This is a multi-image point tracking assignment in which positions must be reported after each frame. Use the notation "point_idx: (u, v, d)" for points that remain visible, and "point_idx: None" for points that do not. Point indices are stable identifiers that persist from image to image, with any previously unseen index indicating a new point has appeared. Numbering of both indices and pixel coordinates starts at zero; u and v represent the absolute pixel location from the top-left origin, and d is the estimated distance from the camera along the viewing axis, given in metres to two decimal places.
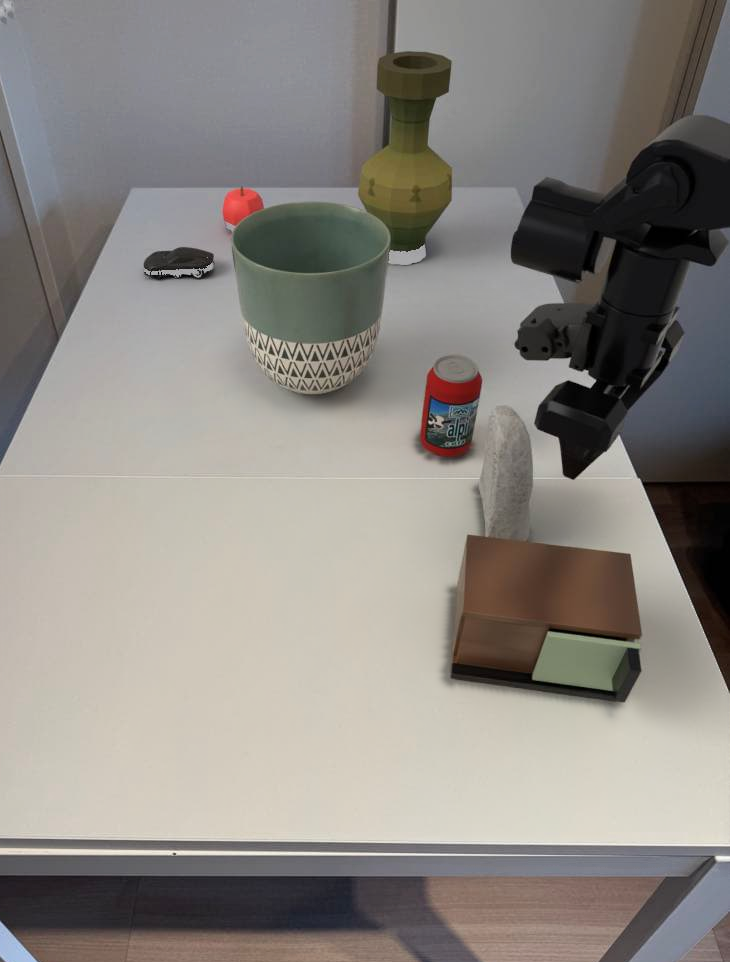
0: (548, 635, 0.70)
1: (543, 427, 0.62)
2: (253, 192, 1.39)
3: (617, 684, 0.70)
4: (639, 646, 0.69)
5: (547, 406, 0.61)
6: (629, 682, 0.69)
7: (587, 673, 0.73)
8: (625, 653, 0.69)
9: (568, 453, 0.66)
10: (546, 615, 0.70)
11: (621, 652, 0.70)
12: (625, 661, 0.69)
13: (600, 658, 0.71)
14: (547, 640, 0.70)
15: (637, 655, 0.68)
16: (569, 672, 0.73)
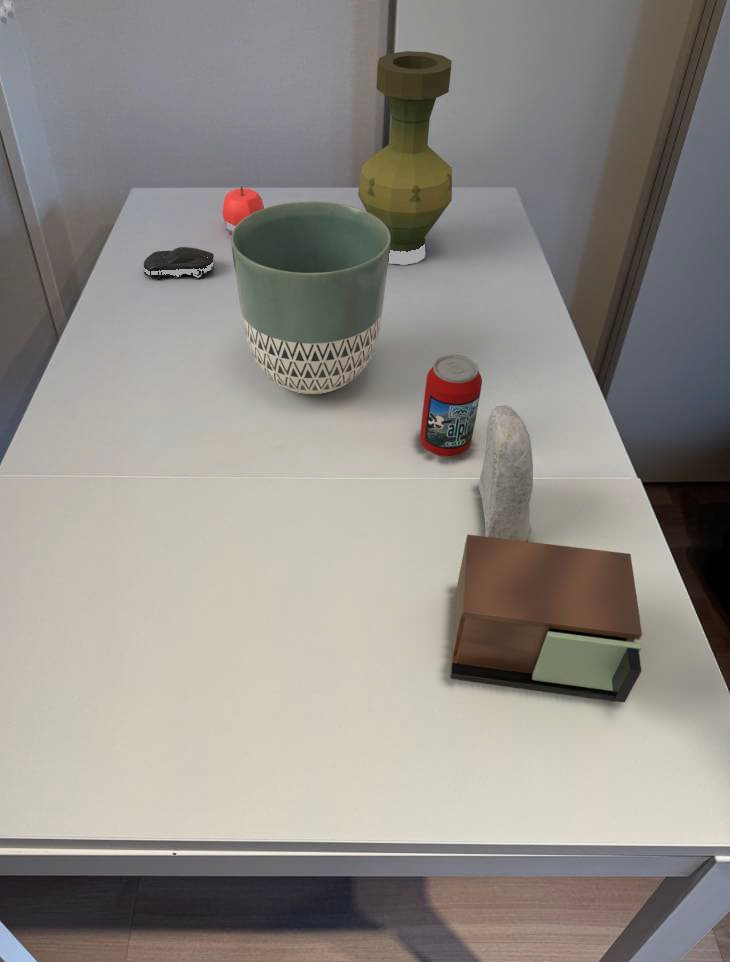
0: (548, 635, 0.70)
1: None
2: (253, 192, 1.39)
3: (617, 684, 0.70)
4: (639, 646, 0.69)
5: None
6: (629, 682, 0.69)
7: (587, 673, 0.73)
8: (625, 653, 0.69)
9: None
10: (546, 615, 0.70)
11: (621, 652, 0.70)
12: (625, 661, 0.69)
13: (600, 658, 0.71)
14: (547, 640, 0.70)
15: (637, 655, 0.68)
16: (569, 672, 0.73)
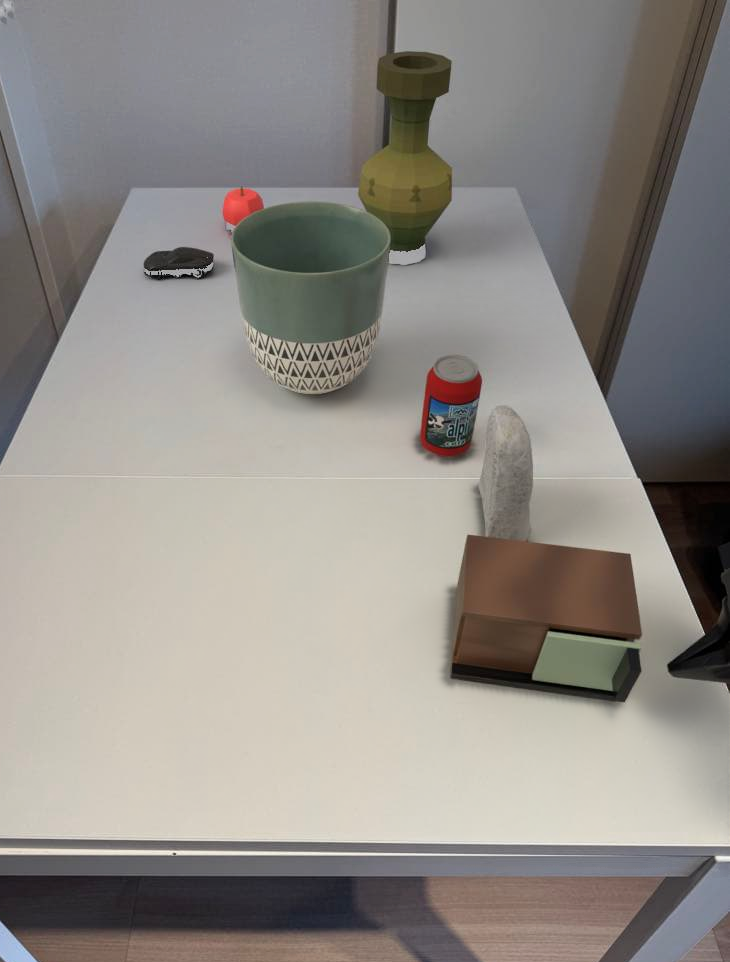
0: (548, 635, 0.70)
1: None
2: (253, 192, 1.39)
3: (617, 684, 0.70)
4: (639, 646, 0.69)
5: None
6: (629, 682, 0.69)
7: (587, 673, 0.73)
8: (625, 653, 0.69)
9: (708, 670, 0.65)
10: (546, 615, 0.70)
11: (621, 652, 0.70)
12: (625, 661, 0.69)
13: (600, 658, 0.71)
14: (547, 640, 0.70)
15: (637, 655, 0.68)
16: (569, 672, 0.73)
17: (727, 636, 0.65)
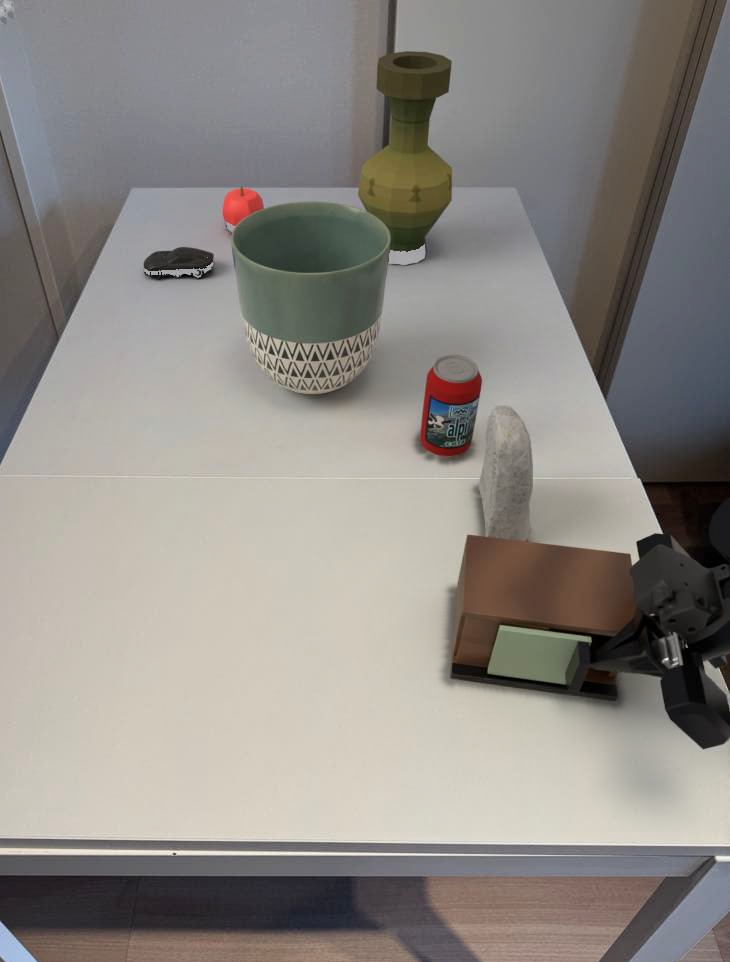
0: (500, 629, 0.70)
1: (677, 720, 0.57)
2: (253, 192, 1.39)
3: (569, 678, 0.71)
4: (590, 640, 0.69)
5: (699, 708, 0.56)
6: (580, 675, 0.69)
7: (540, 667, 0.73)
8: (576, 646, 0.70)
9: (624, 661, 0.66)
10: (546, 615, 0.70)
11: (572, 646, 0.70)
12: (576, 654, 0.69)
13: (552, 652, 0.71)
14: (499, 634, 0.71)
15: (587, 648, 0.69)
16: (523, 666, 0.73)
17: (642, 629, 0.65)
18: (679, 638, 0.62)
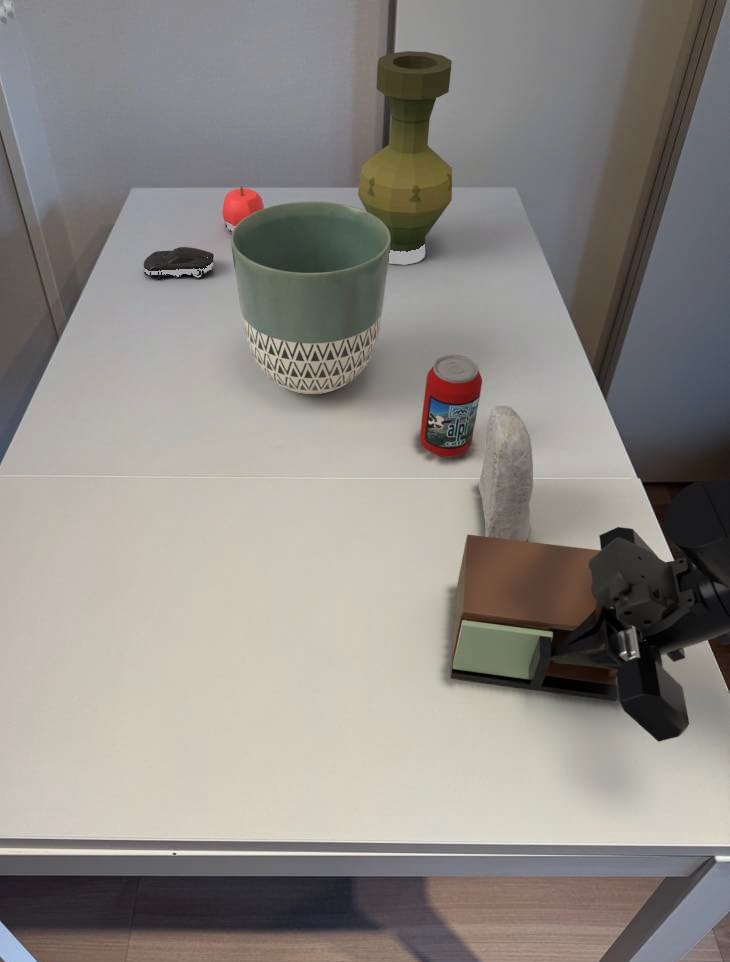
0: (462, 624, 0.71)
1: (632, 712, 0.58)
2: (253, 192, 1.39)
3: (531, 673, 0.71)
4: (551, 634, 0.70)
5: (653, 701, 0.57)
6: (541, 670, 0.69)
7: (504, 662, 0.73)
8: (538, 641, 0.70)
9: (584, 654, 0.66)
10: (546, 615, 0.70)
11: (534, 640, 0.70)
12: (537, 649, 0.70)
13: (515, 647, 0.72)
14: (462, 629, 0.71)
15: (548, 643, 0.69)
16: (487, 661, 0.74)
17: (602, 622, 0.66)
18: (637, 631, 0.62)
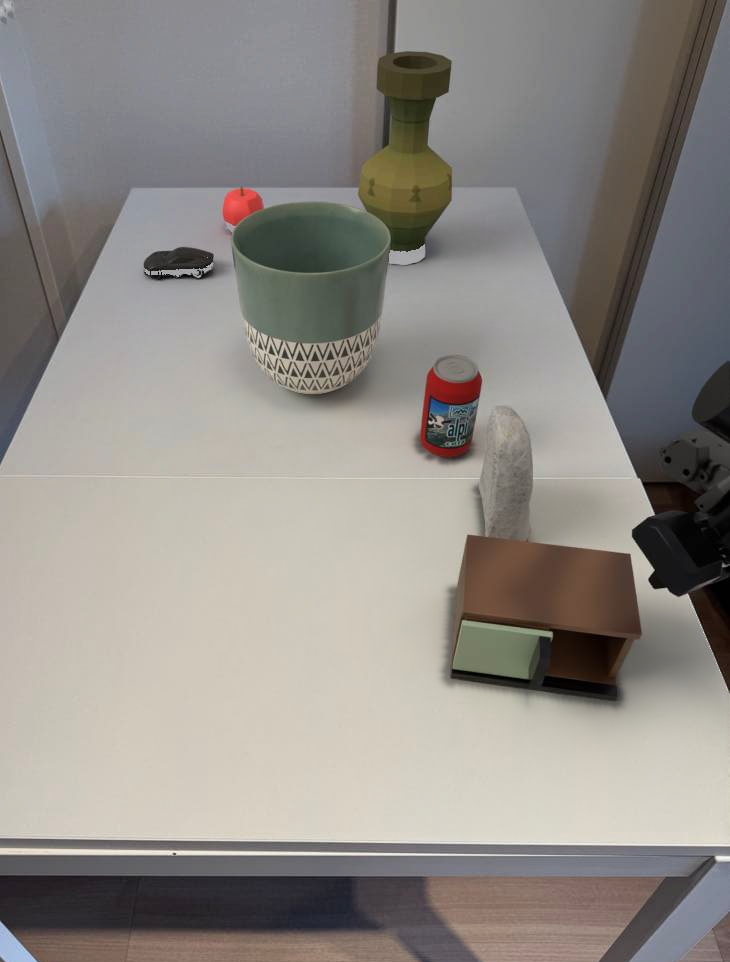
0: (462, 624, 0.71)
1: (638, 539, 0.59)
2: (253, 192, 1.39)
3: (531, 673, 0.71)
4: (551, 634, 0.70)
5: (656, 523, 0.58)
6: (541, 670, 0.69)
7: (504, 662, 0.73)
8: (538, 641, 0.70)
9: None
10: (546, 615, 0.70)
11: (534, 640, 0.70)
12: (537, 649, 0.70)
13: (515, 647, 0.72)
14: (462, 629, 0.71)
15: (548, 643, 0.69)
16: (487, 661, 0.74)
17: None
18: None
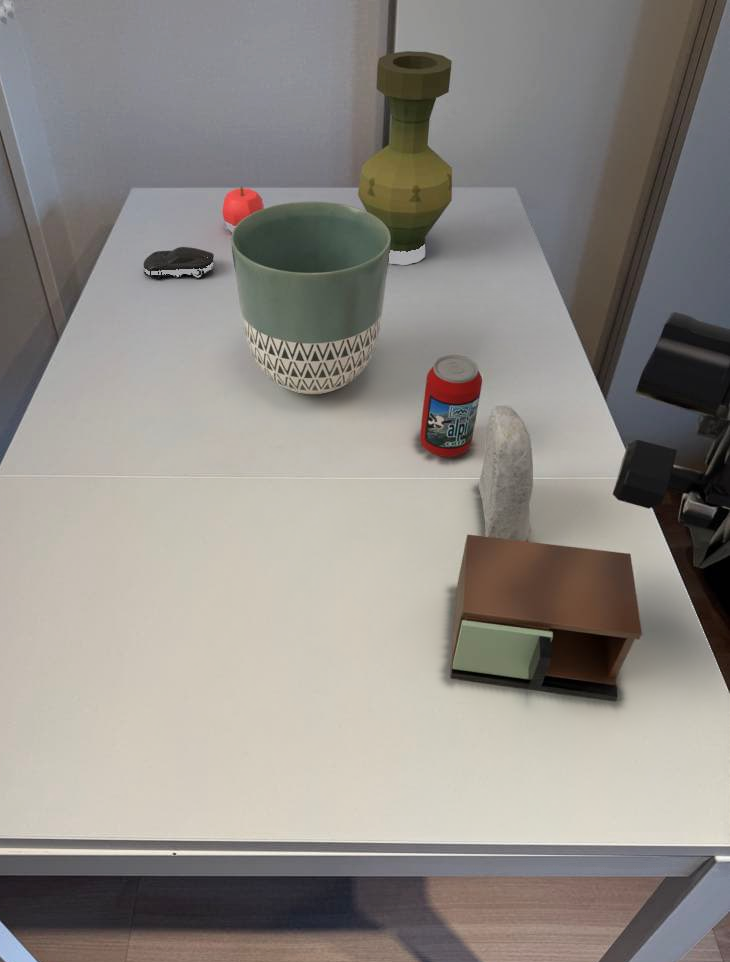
0: (462, 624, 0.71)
1: None
2: (253, 192, 1.39)
3: (531, 673, 0.71)
4: (551, 634, 0.70)
5: (632, 442, 0.68)
6: (541, 670, 0.69)
7: (504, 662, 0.73)
8: (538, 641, 0.70)
9: None
10: (546, 615, 0.70)
11: (534, 640, 0.70)
12: (537, 649, 0.70)
13: (515, 647, 0.72)
14: (462, 629, 0.71)
15: (548, 643, 0.69)
16: (487, 661, 0.74)
17: None
18: None
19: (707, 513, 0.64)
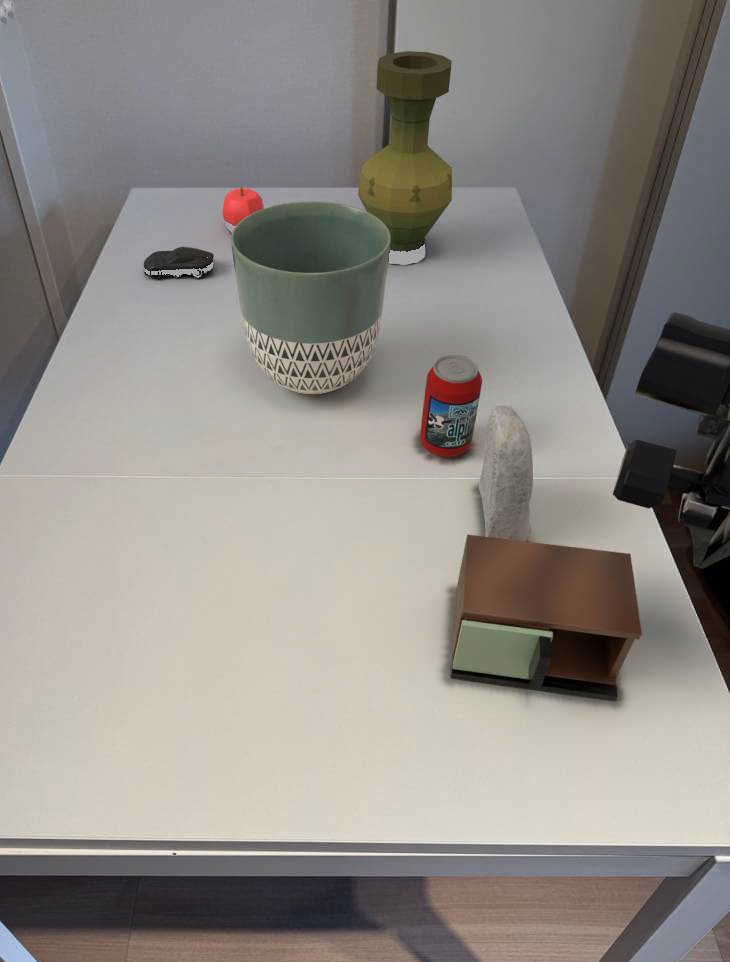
0: (462, 624, 0.71)
1: None
2: (253, 192, 1.39)
3: (531, 673, 0.71)
4: (551, 634, 0.70)
5: (632, 442, 0.68)
6: (541, 670, 0.69)
7: (504, 662, 0.73)
8: (538, 641, 0.70)
9: None
10: (546, 615, 0.70)
11: (534, 640, 0.70)
12: (537, 649, 0.70)
13: (515, 647, 0.72)
14: (462, 629, 0.71)
15: (548, 643, 0.69)
16: (487, 661, 0.74)
17: None
18: None
19: (707, 513, 0.64)
